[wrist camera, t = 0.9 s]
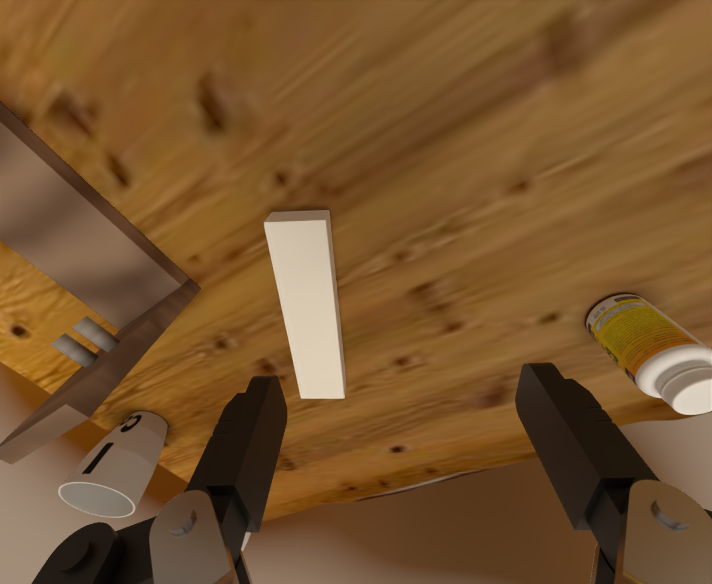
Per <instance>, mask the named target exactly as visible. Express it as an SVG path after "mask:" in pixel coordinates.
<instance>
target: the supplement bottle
mask: <svg viewBox="0 0 712 584" xmlns="http://www.w3.org/2000/svg"><path fill="white" fill-rule="evenodd" d="M586 326H587V330H588V332H589V333H590V335H591V336H592V337H593V338H594V339H595V340H596V341H597V342H598V344H599V345H600V346H601V347H602V348H603V349H604V350H605V351H606V352H607V353H608V355H609V356H610V357H611V358H612V359H613V360H614V361H615V362H616V363H617V364H618V365H619V367H620V368H621V369H622V370H623V371H624V372H625V373H626V374H627V375H628V377H629V378H630V379H631V380H632V381H633V382H634V383H635V384H636V385H637V386H638V387H639V388H640V389H641V390H642V391H643V392H644V393H646V394H648V395H650V396H653V397H658V398H663V400H664V401H666V402H667V403H668V404H669V405H670V406H671V407H672V408H673V409H674V410H675V411H677V412H679V413H681V414H687V415H695V414H702V413H706V412H709V411H712V350H711V349H710V348H709V347H708V346H706V345H705V344H704V343H702V342H701V341H700V340H698V339H697V338H696V337H694V336H693V335H692V334H691V333H689V332H688V331H687V330H685V329H684V328H682V327H681V326H680V325H678V324H677V323H676V322H674V321H673V320H672V319H670V318H669V317H668V316H666V315H665V314H664V313H662V312H661V311H660V310H658V309H657V308H656V307H654V306H653V305H652V304H650V303H649V302H648V301H646V300H645V299H643V298H642V297H639V296H636V295H631V294H623V295H617V296H613V297H610V298H608V299H606V300H604V301H602V302H601V303H599V304H598V305H597V306H596V307H594V309H593V310H592V311H591V312H590V314H589V316H588V318H587V321H586Z"/></svg>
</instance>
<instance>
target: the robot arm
mask: <svg viewBox="0 0 712 584" xmlns="http://www.w3.org/2000/svg"><path fill="white" fill-rule="evenodd" d="M515 402H516V409H517V412H518V415H519V418H520V420H521V422H522V424H523V426H524V428H525V430H526V432H527V434H528V436H529V438H530V440H531V442H532V444H533V446H534V448H535V450H536V452H537V454H538V456H539V458H540V460H541V462H542V465H543V467H544V468H545V471H546V473H547V475H548V477H549V479H550V481H551V483H552V485H553V487H554V489H555V491H556V493H557V495H558V497H559V499H560V501H561V503H562V505H563V507H564V509H565V511H566V513H567V516H568V517H569V520H570V522H571V524H572V526H573V528H574V530H592V532H593V534H594V536H595V538H596V540H597V542H598V543H597V545H596V548H595V555H594V561H593V568H592V576H591V582H590V584H712V511H709V510H706V509H703V508H702V507H701V506H700V505H699V504H698V503H697V502H696V501H695V500H693V499H692V498H691V497H689V496H688V495H687V494H685V493H684V492H682V491H681V490H679V489H677V488H675V487H673V486H671V485H668V484H666V483H663V482H661V481H660V480H659V479H658V478H657V477H656V476H655V474H654V473H653V472H652V471H651V469H650V468H649V467H648V466H647V464H646V463H645V462H644V460H643V459H642V458H641V457H640V455H639V454H638V453H637V452H636V450H635V449H634V448H633V446H632V445H631V444H630V442H629V441H628V440H627V439H626V437H625V436H624V435H623V434H622V432H621V431H620V430H619V429H618V427H617V426H616V425H615V423H612V419H611V418H610V417H609V416H608V414H607V413H606V412H605V411H604V410H602V407H601V405H600V404H599V403H598V402H597V400H596V399H595V398H594V396H593V395H592V394H591V393H590V391H588V390H587V389H586V388H584V387H583V386H581V385H580V384H579V383H577V382H576V381H575V380H573V379H564V378H563V376H562V375H561V374H560V372H559V371H558V369H557V368H556V367H555V366H554V365H553V364H552V363H550V362H548V363H528V364H524V365H523V366H522V370H521V374H520V379H519V383H518V388H517V392H516V398H515ZM286 423H287V406H286V402H285V399H284V396H283V392H282V389H281V386H280V382H279V379H278V377H277V376H276V375H272V376H254V377H253V378H252V379H251V381H250V383H249V386H248V388H247V390H246V393H237V394H236V395H235V396H234V398H233V399H232V400H231V401H230V402H229V403H228V404H227V405H226V406H225V408H224V410H223V412H222V415H221V417H220V419H219V423H218V424H217V425H216V427H215V429H214V431H213V436H212V437H211V438H210V440H209V442H208V444H207V446H206V448H205V450H204V453H203V455H202V457H201V459H200V461H199V463H198V465H197V467H196V469H195V472H194V474H193V476H192V478H191V480H190V482H189V484H188V486H187V488H186V490H185V491H184V493H182V494H180V495H178V496H176V497H175V498H173V499H172V500H171V501H169V502H168V503H167V504H166V505H165V506H164V507H163V508H162V510H161V511H160V512H159V514H158V515H157V516H155V517H153V518H151V519H148V520H145V521H143V522H140V523H137V524H134V525H132V526H129V527H126V528H124V529H121V530H118V531H114V529H113V528H112V527H111V526H109V525H108V524H106V523H100V522H98V523H93V524H90V525H87V526H85V527H83V528H81V529H79V530H77V531H76V532H74V533H73V534H72V535H70V536H69V537H68V538H66V539H65V540H64V541H63V542H62V543H61V544H60V545H59V546H58V547H57V548H56V549H55V550H54V552H53V553H52V554H51V555H50V557H49V558H48V560H47V561H46V563H45V564H44V566H43V567H42V569H41V570H40V572H39V573H38V575H37V576H36V578H35V579H34V581H33V582H32V584H253V583H252V580H251V577H250V574H249V571H248V568H247V565H246V562H245V559H244V556H243V553H242V550H241V548H242V544H243V541H244V537H245V534H246V532H259V530H260V526H261V522H262V518H263V514H264V510H265V506H266V502H267V498H268V494H269V491H270V487H271V483H272V479H273V475H274V471H275V467H276V463H277V459H278V455H279V451H280V447H281V443H282V439H283V436H284V432H285V428H286Z"/></svg>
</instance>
